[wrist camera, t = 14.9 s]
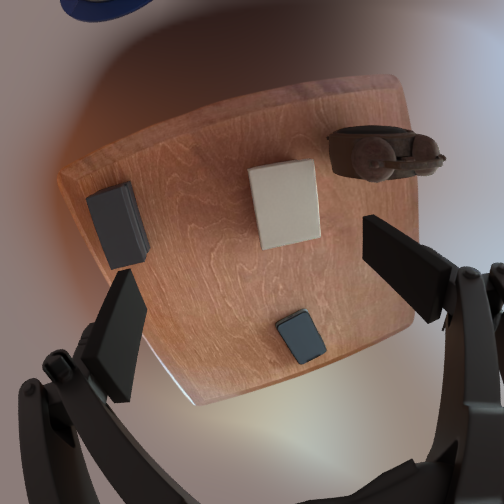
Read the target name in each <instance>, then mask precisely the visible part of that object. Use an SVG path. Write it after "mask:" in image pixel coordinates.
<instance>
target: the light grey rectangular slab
mask: <svg viewBox="0 0 504 504" xmlns="http://www.w3.org/2000/svg"><path fill="white" fill-rule="evenodd" d="M247 170H248V176H249V182H250V187H251V193H252V199H253V205H254V211H255V216H256V222H257V228H258V234H259V240H260V246H261V248H262V250H266V249H271V248H275V247H280V246H284V245H288V244H293V243H297V242H302V241H306V240H311V239H315V238H319V237H321V233H320V219H319V207H318V196H317V186H316V176H315V167H314V159H311V158H309V159H302V160H295V161H289V162H283V163H277V164H271V165H265V166H260V167H254V168H249V169H247Z"/></svg>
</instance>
